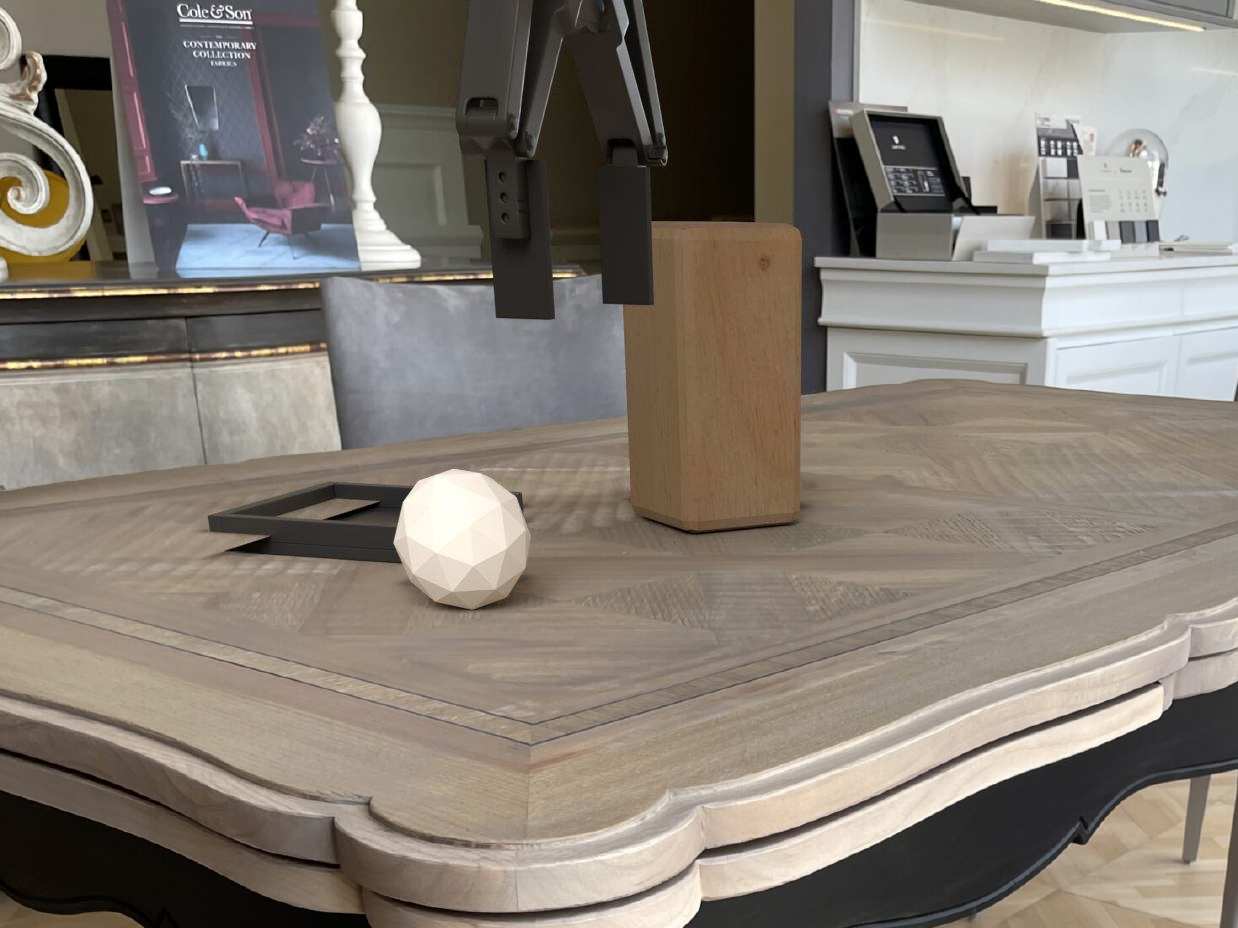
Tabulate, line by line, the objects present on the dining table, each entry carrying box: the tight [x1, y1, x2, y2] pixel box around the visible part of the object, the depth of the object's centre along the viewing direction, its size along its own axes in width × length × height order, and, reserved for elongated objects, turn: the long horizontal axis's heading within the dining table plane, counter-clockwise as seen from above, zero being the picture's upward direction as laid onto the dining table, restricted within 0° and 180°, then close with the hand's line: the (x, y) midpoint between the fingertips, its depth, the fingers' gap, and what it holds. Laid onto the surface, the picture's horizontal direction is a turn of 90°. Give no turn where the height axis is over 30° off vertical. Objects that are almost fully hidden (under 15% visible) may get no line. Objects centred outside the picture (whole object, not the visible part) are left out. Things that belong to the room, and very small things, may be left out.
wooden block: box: [622, 220, 803, 534], centre depth 116 cm, size 10×10×20 cm
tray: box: [207, 480, 525, 564], centre depth 113 cm, size 16×16×2 cm
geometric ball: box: [394, 468, 532, 611], centre depth 93 cm, size 8×8×8 cm
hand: (580, 312), depth 81 cm, fingers open, 13 cm apart
